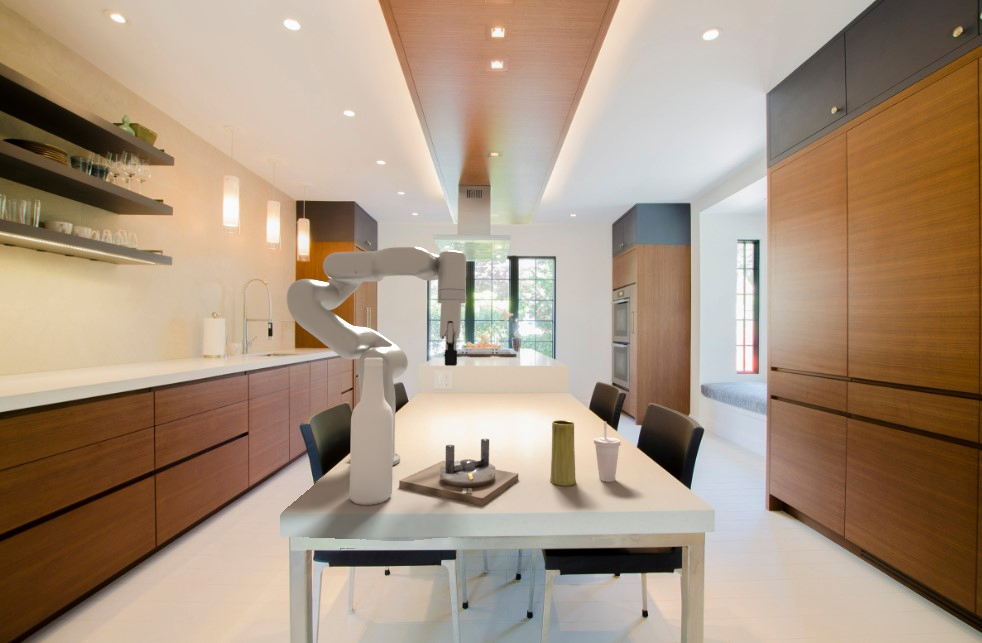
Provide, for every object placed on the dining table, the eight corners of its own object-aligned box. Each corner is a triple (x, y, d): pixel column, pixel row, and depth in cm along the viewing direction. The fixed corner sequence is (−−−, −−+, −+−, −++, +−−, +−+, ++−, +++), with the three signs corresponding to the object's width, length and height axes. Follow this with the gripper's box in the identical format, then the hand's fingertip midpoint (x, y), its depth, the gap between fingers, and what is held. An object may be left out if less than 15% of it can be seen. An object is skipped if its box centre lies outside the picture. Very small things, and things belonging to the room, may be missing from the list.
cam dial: (463, 493, 88) (464, 454, 89) (429, 475, 100) (430, 441, 100) (510, 480, 96) (511, 445, 96) (474, 465, 108) (474, 433, 108)
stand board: (399, 487, 96) (399, 479, 97) (443, 466, 112) (443, 459, 112) (482, 505, 86) (482, 497, 86) (518, 479, 102) (518, 472, 102)
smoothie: (605, 473, 108) (605, 418, 108) (626, 480, 102) (626, 422, 103) (588, 477, 104) (588, 421, 105) (608, 485, 99) (608, 425, 99)
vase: (575, 487, 97) (575, 425, 98) (549, 485, 99) (549, 424, 99) (575, 478, 103) (576, 420, 104) (550, 476, 105) (551, 419, 105)
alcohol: (390, 505, 86) (392, 359, 87) (345, 507, 85) (348, 359, 86) (393, 489, 95) (395, 357, 96) (353, 491, 94) (355, 357, 95)
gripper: (440, 299, 121) (439, 363, 120) (435, 294, 106) (434, 367, 105) (466, 300, 121) (465, 363, 120) (464, 294, 106) (464, 367, 105)
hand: (450, 365), depth 113 cm, fingers closed
